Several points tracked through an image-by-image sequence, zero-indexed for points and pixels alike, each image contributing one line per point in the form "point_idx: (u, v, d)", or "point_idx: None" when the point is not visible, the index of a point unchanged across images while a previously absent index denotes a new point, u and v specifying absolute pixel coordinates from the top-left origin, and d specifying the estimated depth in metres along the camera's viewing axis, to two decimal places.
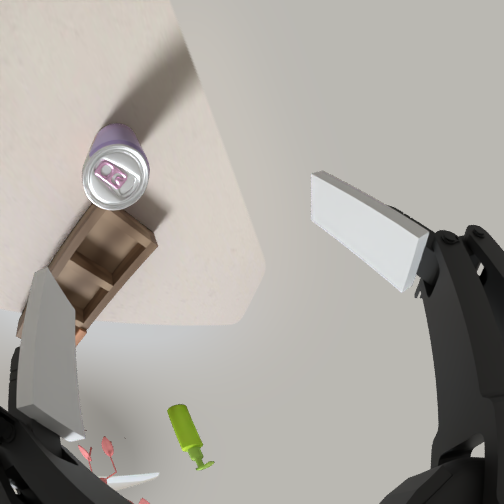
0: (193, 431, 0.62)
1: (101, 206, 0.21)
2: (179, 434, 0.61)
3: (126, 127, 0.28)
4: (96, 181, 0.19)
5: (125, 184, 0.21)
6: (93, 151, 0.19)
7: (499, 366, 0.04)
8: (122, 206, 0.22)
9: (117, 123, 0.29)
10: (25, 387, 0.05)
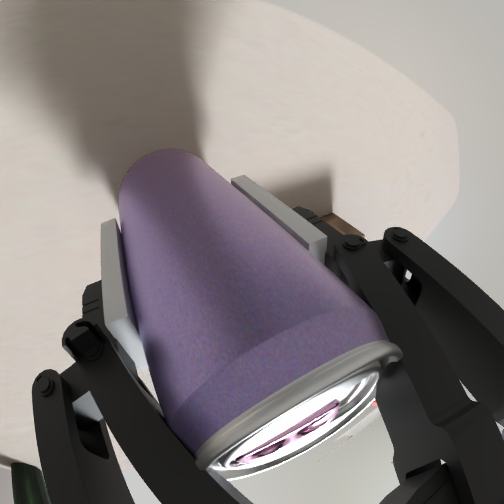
0: None
1: (321, 441, 0.07)
2: None
3: (146, 169, 0.12)
4: (270, 458, 0.06)
5: None
6: None
7: (446, 381, 0.05)
8: (364, 404, 0.07)
9: (127, 173, 0.14)
10: (115, 305, 0.08)
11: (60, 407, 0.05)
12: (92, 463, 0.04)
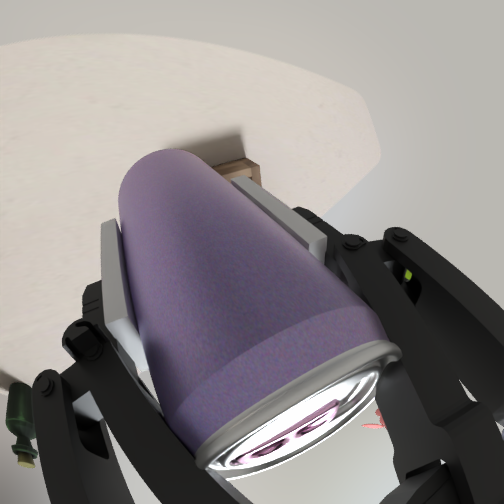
0: None
1: (320, 441, 0.07)
2: None
3: (146, 169, 0.12)
4: (269, 457, 0.06)
5: None
6: None
7: (446, 381, 0.05)
8: (363, 404, 0.07)
9: (127, 173, 0.14)
10: (115, 305, 0.08)
11: (60, 407, 0.05)
12: (92, 463, 0.04)
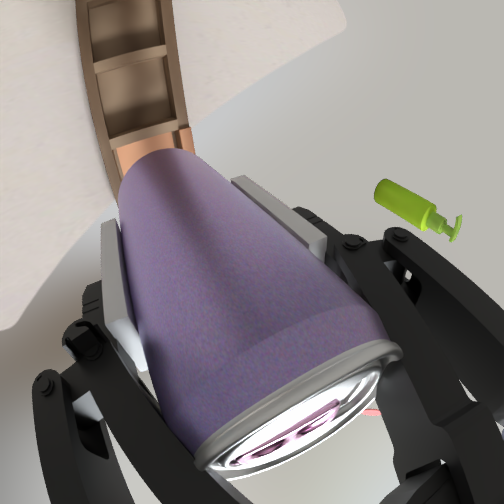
0: (416, 197, 0.48)
1: (321, 441, 0.07)
2: (406, 212, 0.49)
3: (146, 168, 0.12)
4: (269, 458, 0.06)
5: None
6: None
7: (446, 381, 0.05)
8: (364, 404, 0.07)
9: (127, 172, 0.14)
10: (115, 305, 0.08)
11: (60, 407, 0.05)
12: (92, 463, 0.04)
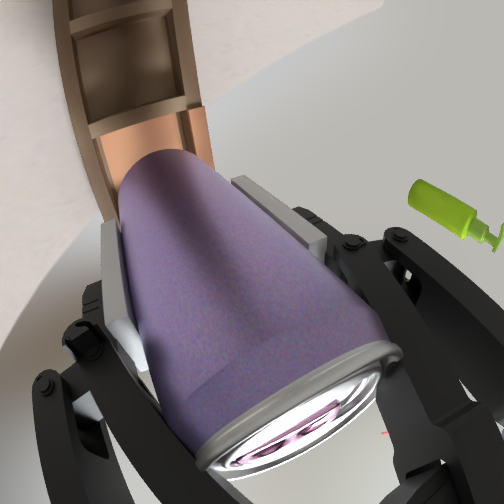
0: (457, 201, 0.39)
1: (321, 441, 0.07)
2: (446, 218, 0.40)
3: (146, 169, 0.12)
4: (270, 458, 0.06)
5: None
6: None
7: (446, 381, 0.05)
8: (364, 404, 0.07)
9: (127, 173, 0.14)
10: (115, 305, 0.08)
11: (60, 407, 0.05)
12: (92, 463, 0.04)
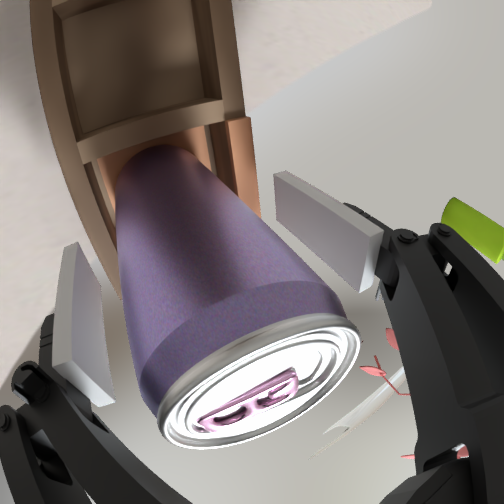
0: (493, 223, 0.33)
1: (290, 420, 0.08)
2: (482, 241, 0.34)
3: (140, 163, 0.13)
4: (236, 429, 0.07)
5: (300, 369, 0.07)
6: None
7: (475, 370, 0.05)
8: (331, 384, 0.08)
9: (123, 167, 0.15)
10: (62, 346, 0.06)
11: (18, 440, 0.04)
12: (56, 490, 0.04)
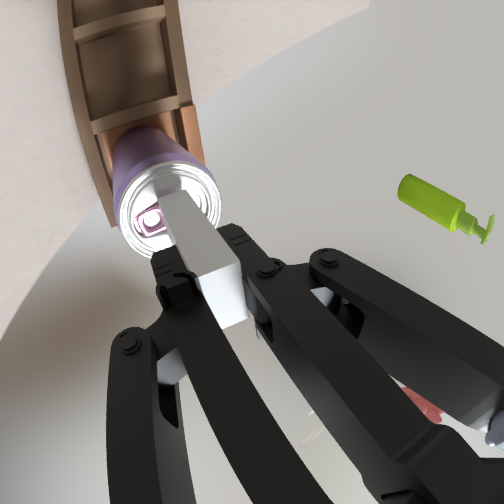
0: (445, 194, 0.41)
1: None
2: (434, 211, 0.42)
3: (128, 133, 0.21)
4: (157, 240, 0.15)
5: None
6: (117, 221, 0.14)
7: (400, 409, 0.05)
8: (213, 224, 0.16)
9: (118, 139, 0.22)
10: (201, 261, 0.09)
11: (145, 368, 0.06)
12: (166, 431, 0.05)
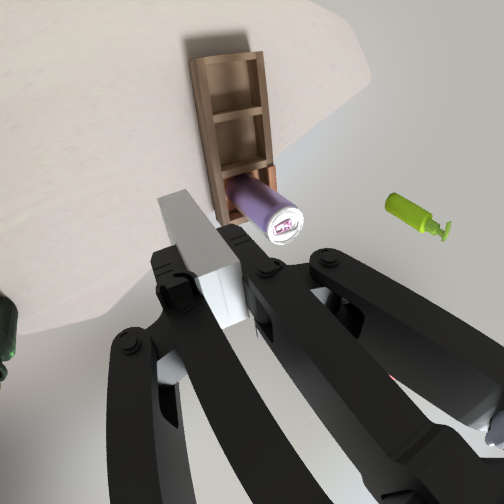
0: (417, 207, 0.64)
1: (290, 240, 0.39)
2: (409, 219, 0.65)
3: (241, 179, 0.44)
4: (279, 236, 0.38)
5: (291, 222, 0.38)
6: (264, 228, 0.37)
7: (400, 409, 0.05)
8: (299, 230, 0.39)
9: (230, 180, 0.46)
10: (201, 261, 0.09)
11: (145, 368, 0.06)
12: (166, 431, 0.05)
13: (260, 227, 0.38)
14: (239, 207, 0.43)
